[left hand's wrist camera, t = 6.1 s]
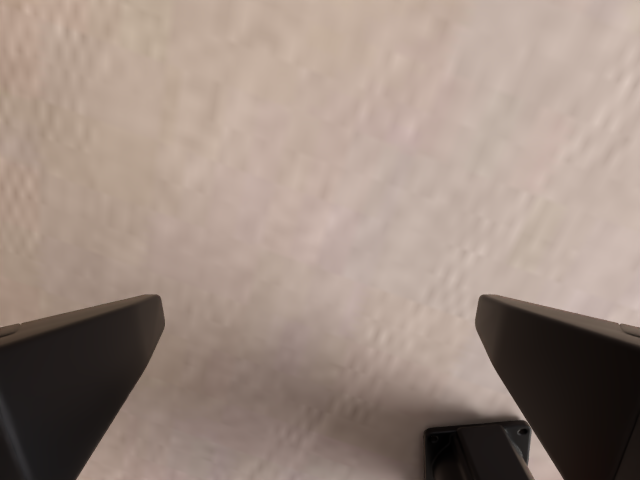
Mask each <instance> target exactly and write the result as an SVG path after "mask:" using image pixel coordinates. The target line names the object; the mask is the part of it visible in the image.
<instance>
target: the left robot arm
mask: <svg viewBox="0 0 640 480" xmlns="http://www.w3.org/2000/svg"><path fill="white" fill-rule="evenodd" d="M164 326H165V319H164V313H163V307H162V301H161V298H160V296H159V295H141V296H137V297H132V298H128V299H124V300H119V301H115V302H111V303H107V304H102V305H98V306H94V307H89V308H85V309H81V310H77V311H72V312H68V313H64V314H59V315H55V316H51V317H46V318H42V319H38V320H34V321H29V322H25V323H22V324H21V325H20V324H14V325H10V326H5V327H1V328H0V480H76V479H77V477H78V476H79V474H80V472H81V471H82V469H83V468H84V466H85V464H86V463H87V461H88V460H89V458H90V456H91V455H92V453H93V452H94V450H95V448H96V447H97V445H98V444H99V442H100V440H101V439H102V437H103V436H104V434H105V432H106V431H107V429H108V428H109V426H110V424H111V423H112V421H113V420H114V418H115V416H116V415H117V413H118V412H119V410H120V409H121V407H122V405H123V404H124V402H125V401H126V399H127V397H128V396H129V394H130V393H131V391H132V389H133V388H134V386H135V385H136V383H137V381H138V380H139V378H140V377H141V375H142V373H143V372H144V370H145V368H146V367H147V365H148V363H149V361H150V358H151V356H152V354H153V352H154V350H155V348H156V345H157V343H158V341H159V339H160V337H161V334H162V332H163V330H164ZM475 326H476V330H477V332H478V334H479V337H480V339H481V341H482V343H483V345H484V348H485V350H486V352H487V354H488V356H489V358H490V361H491V363H492V365H493V367H494V368H495V370H496V372H497V373H498V375H499V377H500V378H501V380H502V381H503V383H504V385H505V386H506V388H507V389H508V391H509V393H510V394H511V396H512V397H513V399H514V400H515V402H516V404H517V405H518V407H519V408H520V410H521V412H522V413H523V415H524V416H525V418H526V420H527V421H528V423H529V424H530V426H531V428H532V429H533V431H534V432H535V434H536V436H537V437H538V439H539V440H540V442H541V444H542V445H543V447H544V448H545V450H546V452H547V453H548V455H549V456H550V458H551V460H552V461H553V463H554V464H555V466H556V468H557V469H558V471H559V472H560V474H561V476H562V477H563V479H564V480H640V328H639V327H635V326H630V325H626V324H620V325H619V324H618V323H615V322H611V321H607V320H602V319H598V318H594V317H589V316H585V315H581V314H576V313H572V312H568V311H564V310H559V309H555V308H551V307H546V306H542V305H538V304H533V303H529V302H525V301H521V300H516V299H512V298H508V297H503V296H499V295H481V296H480V298H479V301H478V307H477V313H476V318H475ZM528 423H527V422H526V421H523V420H519V421H507V422H496V423H484V424H472V425H460V426H448V427H437V428H429V429H427V430H426V431H425V432H424V473H425V480H534V478H533V476H532V474H531V472H530V470H529V468H528V459H529V450H530V441H531V432H532V431H531V428H530V426H529V424H528ZM432 436H433V437H432Z"/></svg>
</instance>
